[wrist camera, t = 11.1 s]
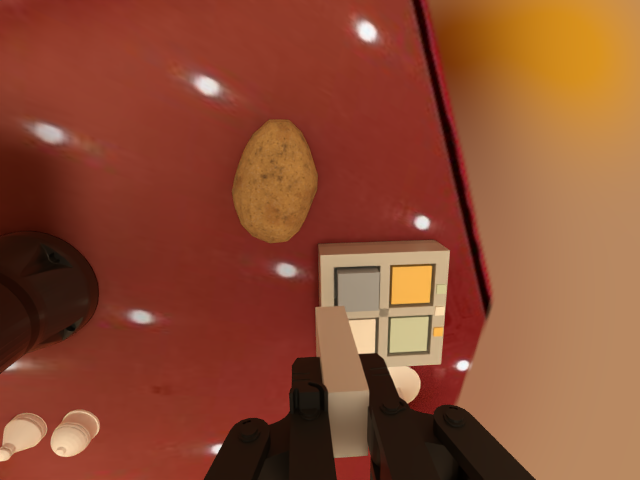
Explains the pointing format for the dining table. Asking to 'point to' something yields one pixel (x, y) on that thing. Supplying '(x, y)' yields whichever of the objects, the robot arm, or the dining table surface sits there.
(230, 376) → the dining table surface
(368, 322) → the key ivory
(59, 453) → the container set
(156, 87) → the dining table surface
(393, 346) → the key sage
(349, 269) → the key slate
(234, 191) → the potato
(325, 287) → the keypad
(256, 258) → the dining table surface
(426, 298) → the key amber
